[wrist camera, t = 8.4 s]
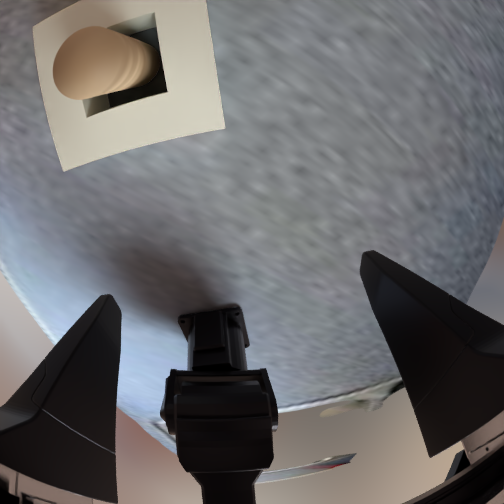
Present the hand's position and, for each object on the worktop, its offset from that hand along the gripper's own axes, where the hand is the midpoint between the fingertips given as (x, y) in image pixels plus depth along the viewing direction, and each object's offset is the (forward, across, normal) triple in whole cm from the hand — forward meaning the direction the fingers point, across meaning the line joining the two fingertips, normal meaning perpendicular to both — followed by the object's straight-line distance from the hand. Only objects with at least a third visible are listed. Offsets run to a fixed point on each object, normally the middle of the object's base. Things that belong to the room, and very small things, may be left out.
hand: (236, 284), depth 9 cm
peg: (+12, +4, -8) cm, 15 cm away
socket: (+12, +4, -8) cm, 15 cm away
